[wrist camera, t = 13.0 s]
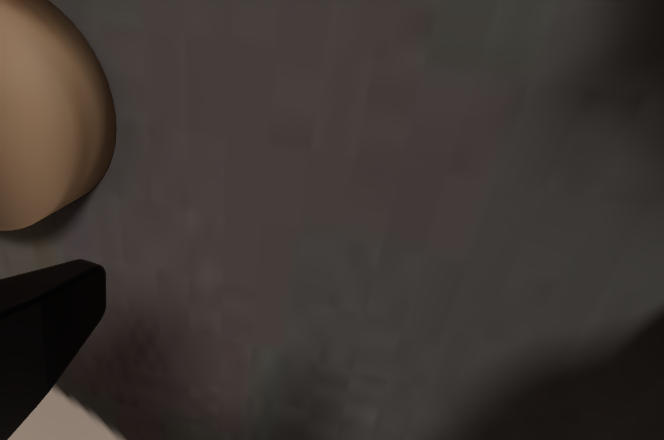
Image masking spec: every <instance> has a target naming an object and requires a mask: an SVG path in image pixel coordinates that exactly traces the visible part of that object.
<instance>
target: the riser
mask: <svg viewBox="0 0 664 440" xmlns="http://www.w3.org/2000/svg"><path fill="white" fill-rule="evenodd" d="M115 141H116V116H115V109H114V103H113V98H112V94H111V91H110V88H109V84H108V81H107V79H106V76H105V74H104V71H103V69H102V67H101V65H100V63H99V61H98V59H97V57H96V55H95V53H94V51H93V50H92V48H91V47H90V45H89V44H88V42H87V41H86V39H85V38H84V36H83V35H82V34H81V32H80V31H79V30H78V29H77V28H76V26H75V25H74V24H73V23H72V22H71V21H70V20H69V19H68V18H67V17H66V16H65V14H64V13H63V12H62V11H61V10H59V9H58V8H57V7H56V6H55V5H53V4H52V3H51V2H50V1H48V0H0V231H11V230H17V229H22V228H25V227H27V226H30V225H33V224H34V223H36V222H38V221H40V220H41V219H43V218H45V217H47V216H48V215H50V214H52V213H54V212H55V211H57V210H59V209H61V208H62V207H64V206H66V205H68V204H69V203H71V202H73V201H75V200H76V199H78V198H80V197H82V196H83V195H85V194H87V193H88V192H89V191H91V190H92V189H93V188H94V187H95V186H96V185H97V184H98V183H99V181H100V180H101V179H102V178H103V176H104V174H105V173H106V171H107V169H108V167H109V165H110V162H111V159H112V156H113V152H114V147H115Z"/></svg>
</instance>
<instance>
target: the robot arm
mask: <svg viewBox="0 0 664 440" xmlns="http://www.w3.org/2000/svg"><path fill="white" fill-rule="evenodd" d="M105 309H106V272H105V269H104V268H103V267H102V266H101V265H99V264H96V263H93V262H90V261H87V260H83V259H78V260H73V261H70V262H66V263H62V264H58V265H54V266H50V267H46V268H43V269H39V270H35V271H31V272H27V273H23V274H19V275H16V276H12V277H8V278H4V279H0V440H7V439H8V438H9V437H10V436H11V435H12V434H13V433H14V431H15V430H16V429H17V428H18V427H19V426H20V425H21V424H22V422H23V421H24V420H25V419H26V418H27V417H28V416H29V415H30V413H31V412H32V411H33V410H34V409H35V408H36V407H37V405H38V404H39V403H40V402H41V401H42V399H43V398H44V397H45V396H46V395H47V393H48V392H49V391H50V390H51V388H52V387H53V386H54V384H55V383H56V382H57V380H58V379H59V378H60V376H61V375H62V373H63V372H64V371H65V369H66V368H67V366H68V365H69V364H70V362H71V361H72V360H73V358H74V357H75V355H76V354H77V353H78V351H79V350H80V348H81V347H82V346H83V344H84V343H85V341H86V340H87V339H88V337H89V336H90V334H91V333H92V332H93V330H94V329H95V327H96V326H97V325H98V323H99V322H100V320H101V319H102V317H103V315H104V312H105Z"/></svg>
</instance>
